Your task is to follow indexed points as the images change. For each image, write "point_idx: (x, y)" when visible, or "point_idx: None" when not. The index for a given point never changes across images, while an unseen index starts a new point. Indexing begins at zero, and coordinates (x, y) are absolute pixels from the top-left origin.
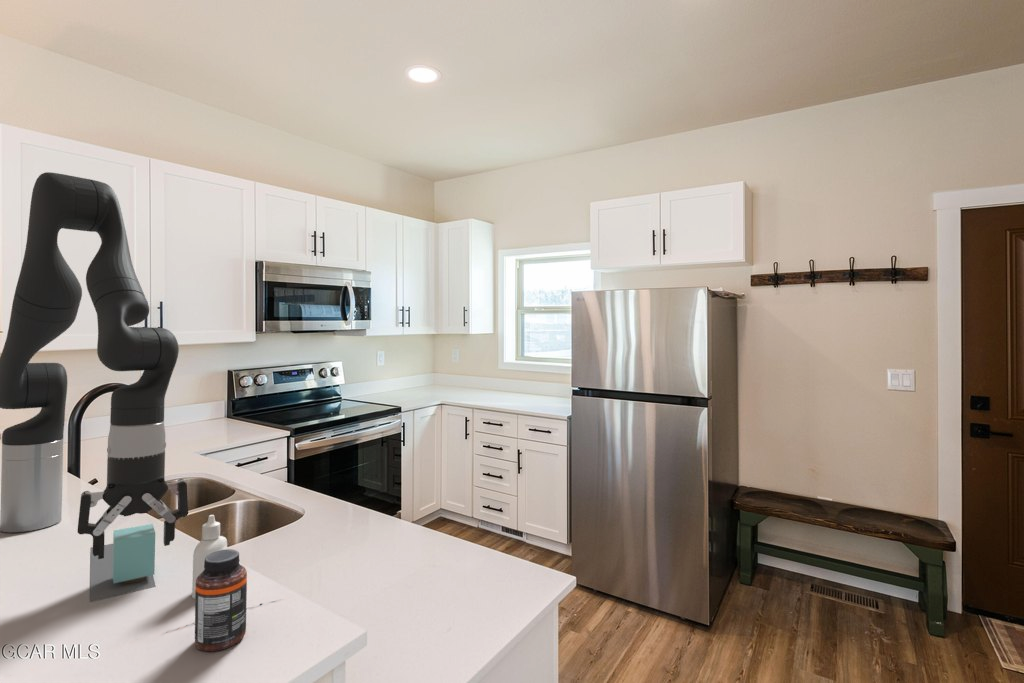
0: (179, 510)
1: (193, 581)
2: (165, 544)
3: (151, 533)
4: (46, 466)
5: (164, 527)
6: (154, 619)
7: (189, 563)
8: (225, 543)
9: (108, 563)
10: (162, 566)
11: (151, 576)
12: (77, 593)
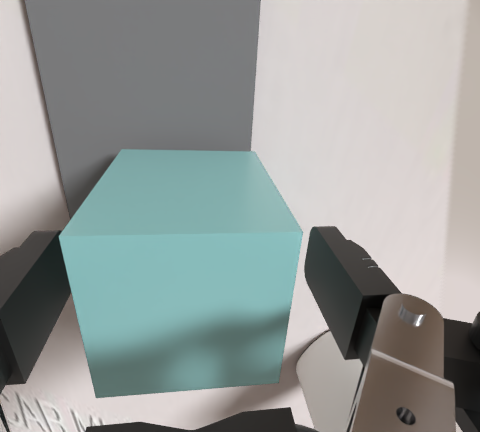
0: (465, 423)
1: (308, 408)
2: (308, 279)
3: (263, 374)
4: None
5: (340, 303)
6: (220, 397)
7: (362, 147)
8: None
9: None
10: (287, 116)
11: None
12: (33, 190)
